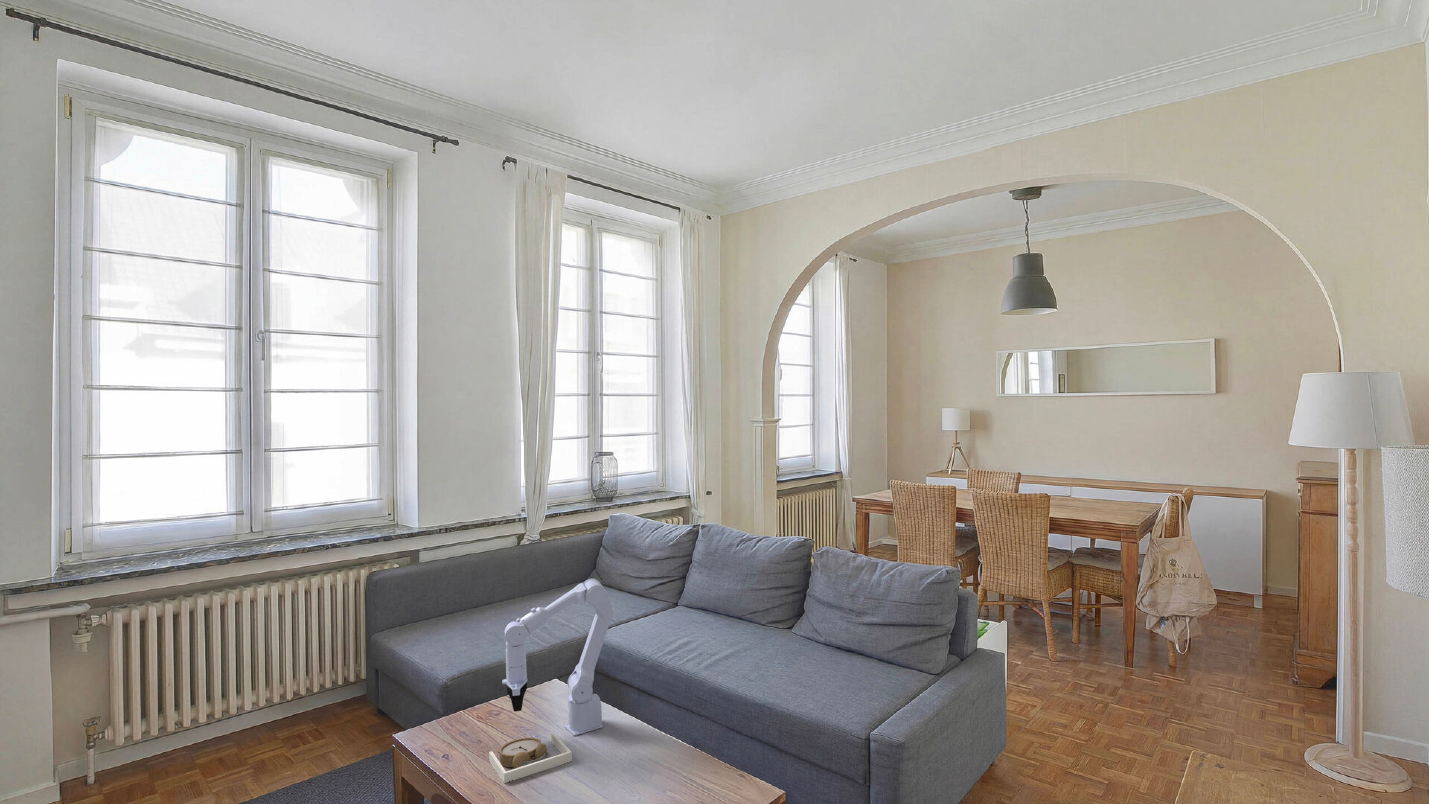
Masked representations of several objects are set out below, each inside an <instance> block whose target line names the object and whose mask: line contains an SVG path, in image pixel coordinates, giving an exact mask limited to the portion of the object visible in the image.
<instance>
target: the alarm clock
mask: <svg viewBox="0 0 1429 804" xmlns="http://www.w3.org/2000/svg"><path fill="white" fill-rule="evenodd" d="M497 753H498V754H499V762H500V763H501V765H502V766H503V767H506V768H513V769H516V768H519V767H522V766H525V765H528V764H531V763H534V762H537V761H541V760H544V759H547V756H548V753H549V752H548V747H547V745H546V744H545V743H543V742H542V741H541V740H540V739H539V738H536V737H521V738H517V739H513V740H511V741H509V742H507V743H504V744H503V745H502V746H501V747H500V748H499V750H498V752H497Z"/></svg>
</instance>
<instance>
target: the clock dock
mask: <svg viewBox="0 0 1429 804" xmlns="http://www.w3.org/2000/svg"><path fill="white" fill-rule="evenodd" d="M550 739H551V743H552V745H553V746H554V745H555V746H556V747H557V748H558V749H559V750H558V749H557V748H556V747H555V746H554V747H555V748H556V749H557V750H558V751H559V754H558V755H557V754H556V755H554V756H550V757H548V758H547V757H546V758H545V759H544V760H541V761H537V762H534V763H531V764H528V765H525V766H522V767H519V768H516V769H515V768H512V769H510V770H506V769H505V768H504V766H503V765H501V763H500V760H499V759H498V758H497V756H496V755H495V753H494V752H493V751H492V750H491V751H489V752H488V759H489V763H490V764H491V766H492V767H493V768H494V770H495V771H496V772H495V773H497V775H498V776H499V777H500V780H501V781H502V783H503V784H506V783H509V781H510V782H513V781H516V780H520V779H522V778H525V777H529V776H531V775H534V774H537V773H540V772H543V771H546V770H550V769H553V768H556V767H558V766H562V765H564V763H565V764H568V763H571V762H573V752H572V751H571V750H570V748H569V747H567V745H566V744H565V743H564V742H563V741H562V740H561V738H559V736H558V735H556V734H555V733H554V732H551V734H550ZM570 761H571V762H570ZM567 762H568V763H567ZM512 780H513V781H512Z"/></svg>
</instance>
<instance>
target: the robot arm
mask: <svg viewBox="0 0 1429 804" xmlns="http://www.w3.org/2000/svg"><path fill="white" fill-rule="evenodd" d="M586 603H587V604H588V605H589V606H590V607H592V608H593V610H594V612H595V614H594V617H593V621H592V622H591V623H592V624H591V626H590V630H589V632H588V635H587V638H586V641H585V644H584V647H583V650H582V653H581V656H580V659H579V662H578V664H576V666H575V668H574V670H573V672H572V673H571V674H570V675H569V677H568V679H567V687H568V689H569V690H570V694H569V695H568V697H567V701H568V703H567V704H568V706H567V707H568V723H566V724H564V725H563V726H564V728H565V729H566V728H567V729H566V730H567V731H568V732H569V733H570V734H571V735H572V736H574V737H575V736H579V735H582V734H586V733H588V732H592V731H596V730H599V729H601V728H604V725H603V719H602V718H603V717H602V716H603V713H602V710H603V709H602V702H601V698H600V696H599V695H598V694H597V693H593V691H594V689H593V685H594V684H593V683H594V680H595V669H596V665H597V663H598V660H599V658H600V657H599V656H600V654H601V651H602V648H603V646H604V645H603V644H604V641H605V639H606V637H607V632H608V629H609V627H610V623H611V621H612V617H613V614H614V611H613V606H612V602H611V597H610V594H609V593H608V591H607V590H606V588H604V586H603V584H602V583H601V582H600V581H599V580H598V579H597V578H588V579H586V580H585V581H583V582H581V583H579V584H577V585H576V586H575V587H574V588H572V589H570V590H569V591H568V592H566V593H564V594H563V595H562V596H560V597H558V598H557V599H556V600H555V601H553V602H551V603H550V604H549V605H547V606H545V607H541V606H538V607H533V608H531V609H530V612H529V613H527V614H526V615H524V616H523V617H521V618H520V617H517V618H516V620H515V621H510V622H509V623H508V624H507V625H506V627H505V628H504V631H503V634H504V638H505V673H506V674H505V675H506V678H504V679H502V680H501V681H502V685H506V692H507V694H508V697H509V699H510V701H511V705H512V710H513V712H515V713H516V712H521V711H522V709H523V706H524V705H523V704H524V698H525V694H526V692H527V690H528V675H527V672H528V671H527V652H526V649H527V648H526V646H525V645H526V644H525V643H526V642H525V641H526V640H527V637H530V636H531V635H533V634H534V633H536V632H538V631H540V630H541V629H542V628H544V627H546V626H547V625H549V623H550V620H551V618H553V617H554V616H555V615H557V614H559V613H561V612H563V611H565V610H566V609H568V608H570V607H572V606H575V605H579V606H586Z"/></svg>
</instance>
